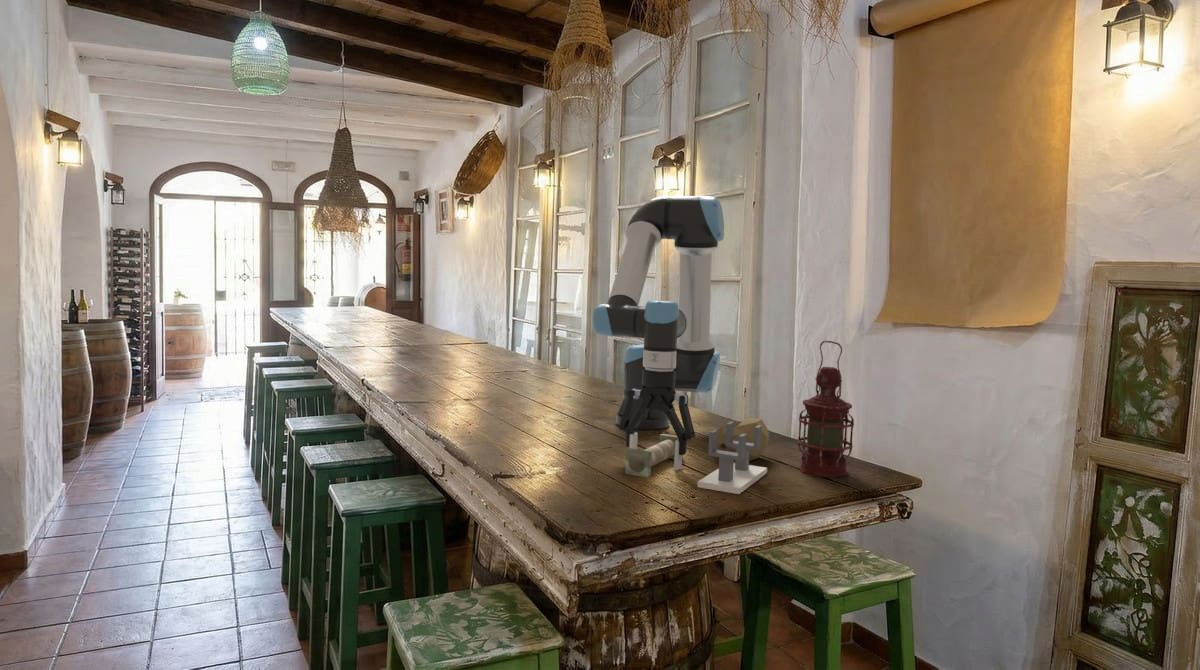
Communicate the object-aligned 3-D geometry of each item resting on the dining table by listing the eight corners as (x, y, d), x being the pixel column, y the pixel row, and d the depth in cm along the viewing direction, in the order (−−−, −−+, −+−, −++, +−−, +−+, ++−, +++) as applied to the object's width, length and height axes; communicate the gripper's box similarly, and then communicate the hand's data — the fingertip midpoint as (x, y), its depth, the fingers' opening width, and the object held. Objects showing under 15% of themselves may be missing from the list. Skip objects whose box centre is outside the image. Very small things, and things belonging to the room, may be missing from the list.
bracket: (728, 466, 184) (731, 419, 183) (766, 473, 180) (769, 423, 179) (697, 487, 166) (700, 434, 165) (739, 494, 162) (742, 439, 161)
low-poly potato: (770, 455, 198) (732, 428, 203) (786, 423, 192) (747, 396, 197) (738, 482, 188) (700, 453, 193) (754, 449, 182) (714, 420, 187)
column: (661, 455, 193) (662, 433, 192) (682, 459, 190) (683, 436, 190) (625, 473, 175) (626, 449, 174) (647, 477, 172) (648, 453, 172)
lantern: (785, 466, 186) (792, 338, 183) (827, 463, 191) (835, 338, 188) (817, 480, 175) (826, 344, 172) (862, 476, 179) (871, 343, 177)
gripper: (606, 365, 182) (602, 460, 184) (701, 375, 172) (696, 476, 174) (620, 362, 189) (617, 454, 191) (713, 372, 178) (708, 469, 180)
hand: (654, 465), depth 182 cm, fingers open, 10 cm apart
